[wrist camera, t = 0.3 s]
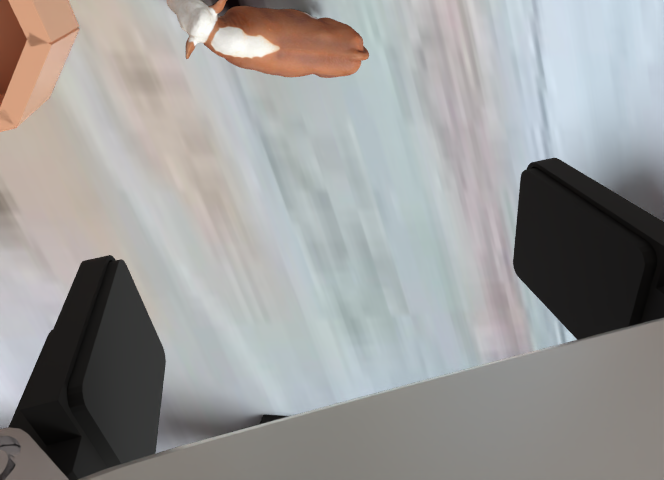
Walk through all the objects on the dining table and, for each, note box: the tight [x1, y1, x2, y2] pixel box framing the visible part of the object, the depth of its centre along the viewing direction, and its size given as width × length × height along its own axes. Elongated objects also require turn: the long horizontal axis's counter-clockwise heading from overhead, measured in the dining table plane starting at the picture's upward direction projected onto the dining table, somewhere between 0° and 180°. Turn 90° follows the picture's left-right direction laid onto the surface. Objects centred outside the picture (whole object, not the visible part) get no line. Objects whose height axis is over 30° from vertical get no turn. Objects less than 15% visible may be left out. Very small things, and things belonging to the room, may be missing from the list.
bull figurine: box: [167, 0, 369, 78], centre depth 33 cm, size 4×13×8 cm, turn 75°
